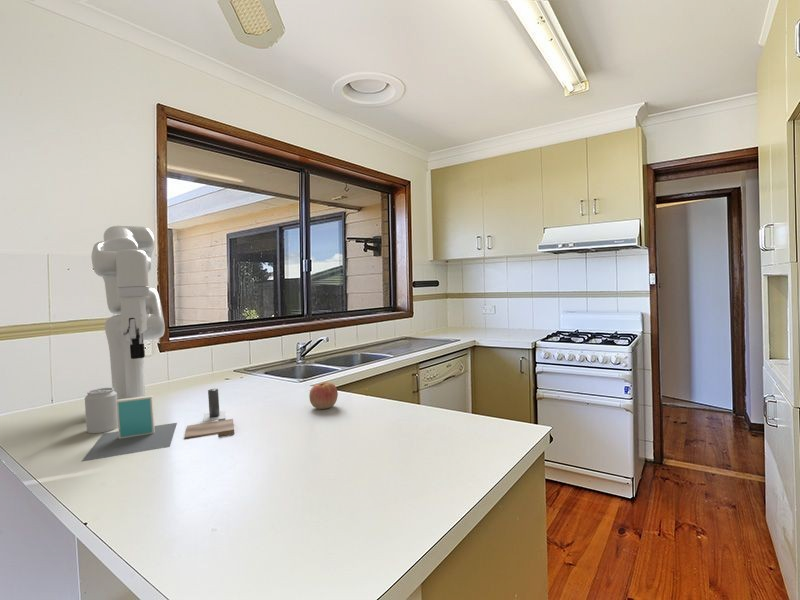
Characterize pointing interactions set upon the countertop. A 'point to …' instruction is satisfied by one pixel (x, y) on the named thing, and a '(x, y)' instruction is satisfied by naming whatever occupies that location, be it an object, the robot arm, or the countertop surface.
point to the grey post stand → (214, 407)
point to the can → (101, 410)
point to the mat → (131, 443)
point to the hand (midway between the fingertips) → (138, 357)
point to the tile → (135, 416)
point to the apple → (323, 395)
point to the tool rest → (210, 429)
